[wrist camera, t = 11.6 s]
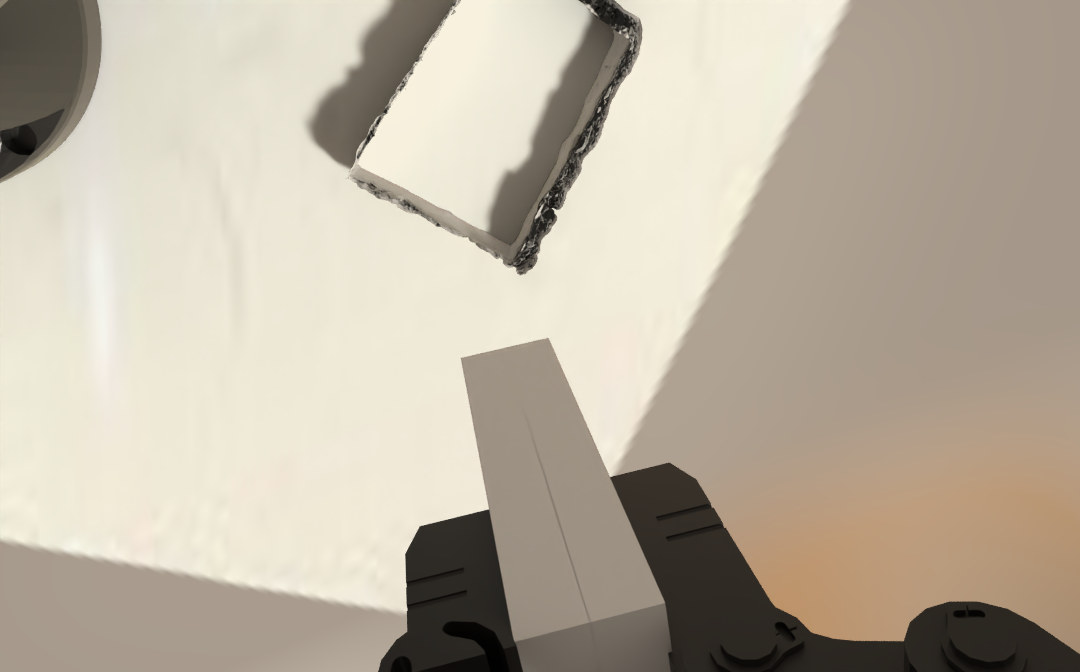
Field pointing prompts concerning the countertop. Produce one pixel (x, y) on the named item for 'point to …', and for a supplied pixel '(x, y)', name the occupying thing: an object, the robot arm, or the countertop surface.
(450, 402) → the countertop surface
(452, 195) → the countertop surface
